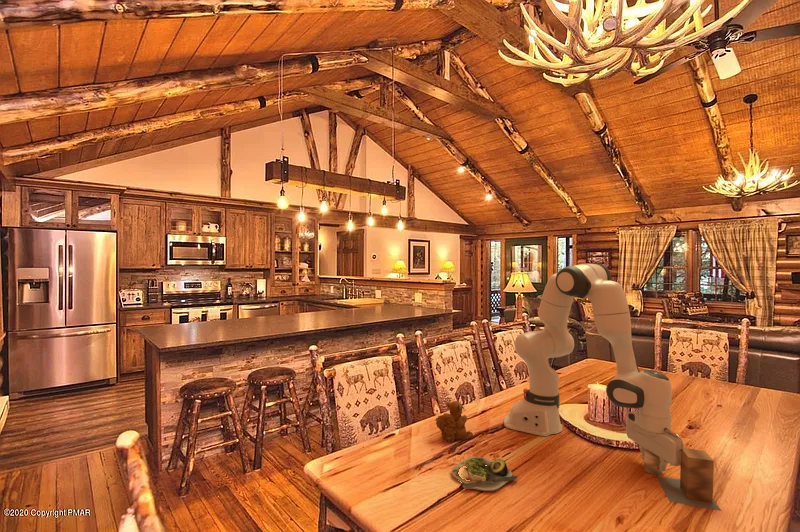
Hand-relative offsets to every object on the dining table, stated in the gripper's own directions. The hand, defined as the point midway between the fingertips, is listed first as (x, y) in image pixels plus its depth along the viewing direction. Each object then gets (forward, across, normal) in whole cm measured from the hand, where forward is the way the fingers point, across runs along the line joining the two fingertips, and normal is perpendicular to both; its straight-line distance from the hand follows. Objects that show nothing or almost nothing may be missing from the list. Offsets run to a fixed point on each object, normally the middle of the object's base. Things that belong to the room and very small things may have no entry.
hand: (653, 465), depth 128 cm
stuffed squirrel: (+3, +33, +56) cm, 65 cm away
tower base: (+2, -14, -2) cm, 14 cm away
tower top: (-4, -14, -2) cm, 14 cm away
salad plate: (+3, +6, +55) cm, 55 cm away
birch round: (+2, 0, 0) cm, 2 cm away
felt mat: (+2, -12, 0) cm, 12 cm away
